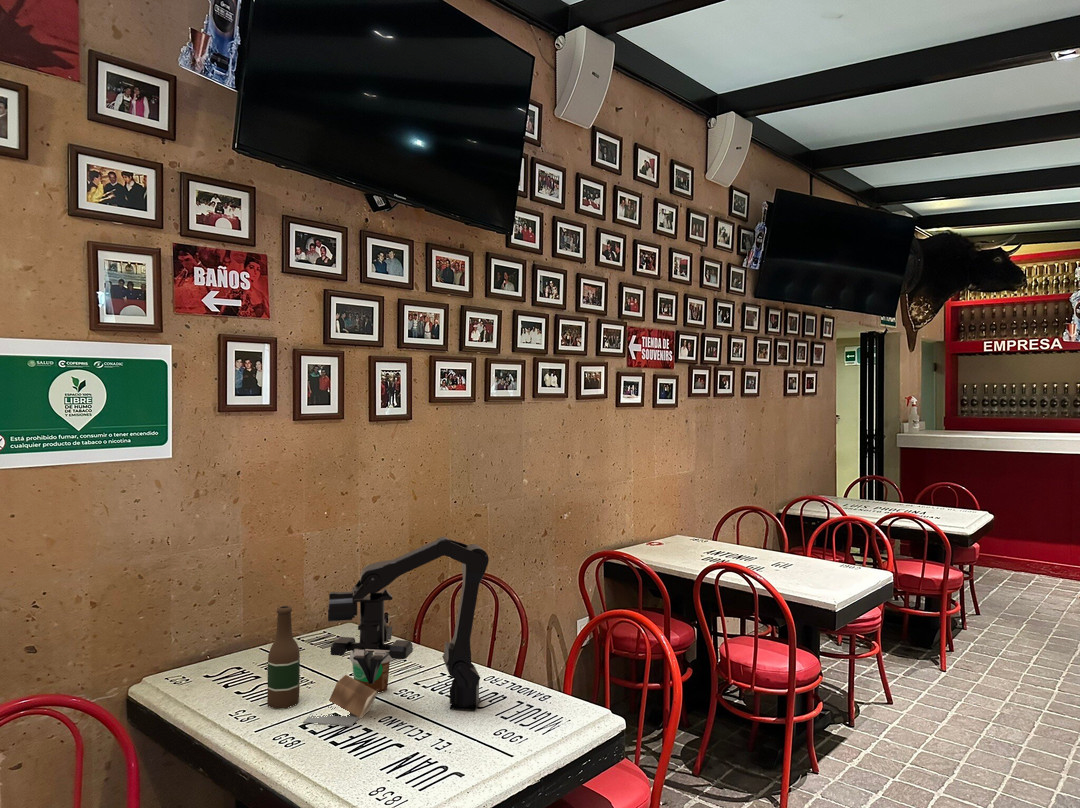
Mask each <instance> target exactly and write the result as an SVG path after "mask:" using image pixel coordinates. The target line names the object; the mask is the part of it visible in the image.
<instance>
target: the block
mask: <svg viewBox="0 0 1080 808" xmlns="http://www.w3.org/2000/svg"><path fill="white" fill-rule="evenodd" d="M377 695H378V693H377V691H375V690H374V689H372V688H370V687H368V686H366V685H364V684H362V683H360V682H359V681H357V680H355V679H354V677H351V676H350V675H347V674H345V675H344V676H342V677H341V678H340V679H339V680H338V681H336V684H335V686H334V688H333V691H332V693H331V694H330V697H329V698H330V699H329V701H330V702H332V703H334V704H336V705H338V706H340V707H341V708H343V709H345V710H347V711H349V712H351V713H352V714H354V715H356V716H358V717H360V718H359V719H363V718H364V716H366V714H368V712H369V711H370V710H371V708H372V706H373V704H374V703H373V701H374V702H375V698H376V696H377ZM372 703H373V704H372Z"/></svg>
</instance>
